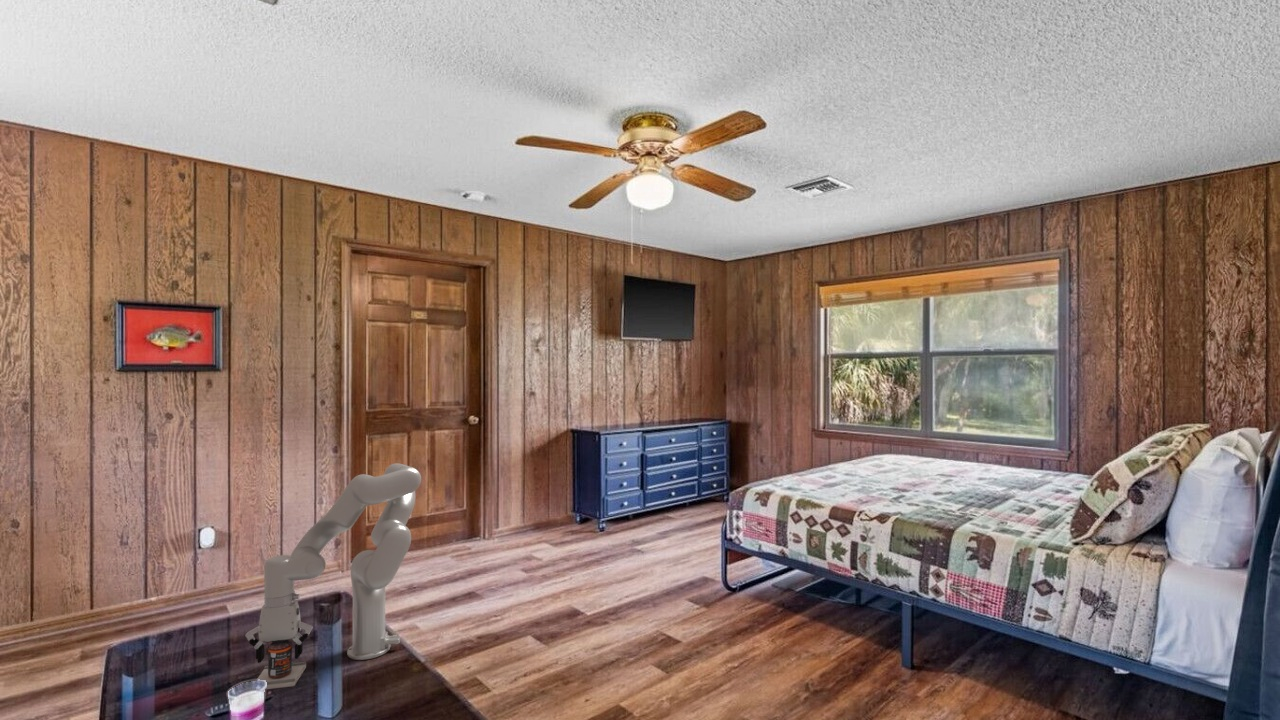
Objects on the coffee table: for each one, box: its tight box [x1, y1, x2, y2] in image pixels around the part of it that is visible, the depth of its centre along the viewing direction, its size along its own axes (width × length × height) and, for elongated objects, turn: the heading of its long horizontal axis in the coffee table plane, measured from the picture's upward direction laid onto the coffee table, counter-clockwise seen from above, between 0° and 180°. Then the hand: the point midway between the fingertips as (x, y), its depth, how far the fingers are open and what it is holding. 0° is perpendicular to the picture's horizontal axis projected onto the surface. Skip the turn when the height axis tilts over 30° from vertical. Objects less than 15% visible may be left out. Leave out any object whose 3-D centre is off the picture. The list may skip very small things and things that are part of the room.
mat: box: [255, 661, 307, 690], centre depth 176 cm, size 11×11×2 cm
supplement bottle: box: [267, 639, 293, 679], centre depth 176 cm, size 6×6×11 cm
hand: (279, 658), depth 176 cm, fingers open, 9 cm apart
